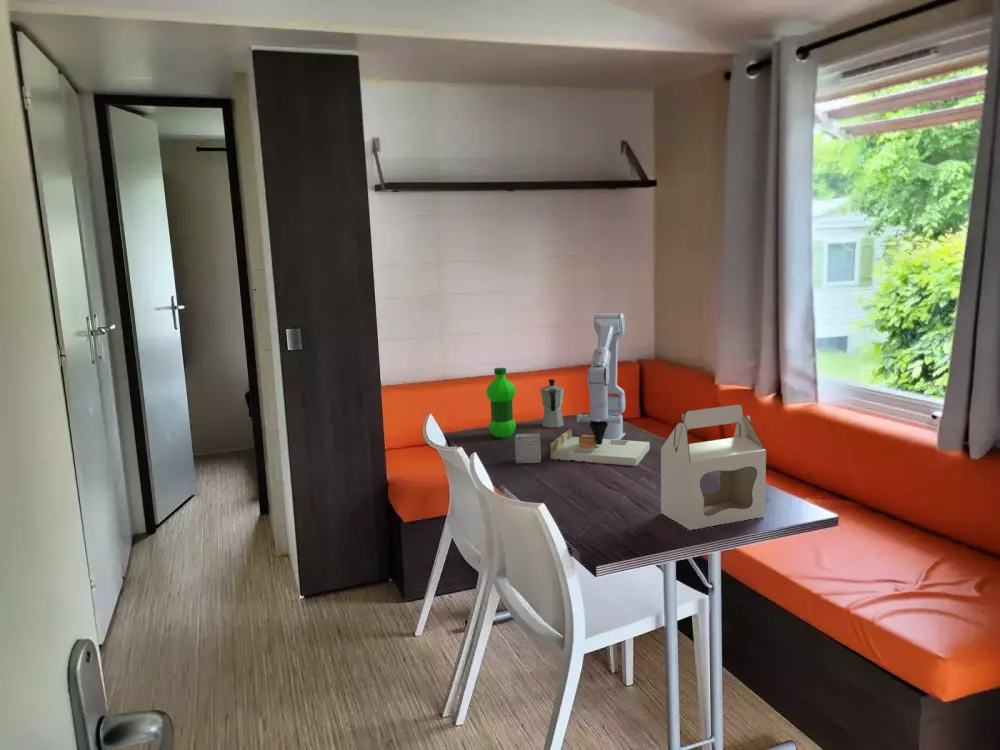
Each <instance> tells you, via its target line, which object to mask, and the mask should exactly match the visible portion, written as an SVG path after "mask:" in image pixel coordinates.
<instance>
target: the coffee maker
mask: <svg viewBox="0 0 1000 750" xmlns="http://www.w3.org/2000/svg"><path fill="white" fill-rule="evenodd" d="M555 382H556V380H555V379H554V378H551V379H548V383H549V384H548V385H547V386H543V387H541V388H540V394H541V395H540V396H541V401H542V406H543V407H544V409H543V417H542V425H543V426H542V428H543V427H549V428H550V427H561V426H564V427H565V424H564V418H563V412H562V405H563V401H564V392H565V391H564V390H565V388H564V387H561V386H559V385H555ZM561 428H562V427H561Z"/></svg>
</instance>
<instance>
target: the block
mask: <svg viewBox="0 0 1000 750" xmlns="http://www.w3.org/2000/svg"><path fill="white" fill-rule="evenodd" d="M579 437H580V438H579V447H583V448H595V447H596V446H597V443H596V439H595V436H594V434H593V435H592V434H591V435H590V434H581V436H579Z"/></svg>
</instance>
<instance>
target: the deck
mask: <svg viewBox="0 0 1000 750" xmlns="http://www.w3.org/2000/svg"><path fill="white" fill-rule="evenodd" d="M572 431H573V430H572V429H567V430H566V431H565V432H564V433H562V434H561V435H560V436H559V437H557V438H556V439H554V440H552V442H551V443H550V447H549V448H550V459H551V460H558V459H560V460H561V461H570V460H575V461H574V462H582V461H585V463H594V462H595V463H597V464H608V465H609V464H610V465H619V466H630V467H631V466H632V467H633V466H634V467H636V466H638V465H639V463H640V462H641V461H642V459H644V457H645V456H646V455H647V454H648V452H649V451H650V450H649V449H651V448H650V447H651V446H650V444H651V443H650V441H640V440H627V439H626V440H624V439H621V440H613V439H603V441H602V444H601V445H597V446H596V447H595V448H583V447H579V438H580V437H581V436H573V435H572V434H573V433H572ZM645 454H646V455H645ZM560 460H559V461H560Z"/></svg>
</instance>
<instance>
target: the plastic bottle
mask: <svg viewBox="0 0 1000 750" xmlns="http://www.w3.org/2000/svg"><path fill="white" fill-rule="evenodd" d="M493 371H494V373H493V374H494V375H495V379H494V380H492V382H490V384H489V385H487V388H486V396H487V399H488V400H489V401H490V418H491V420H490V421H489V425H488V428H489V432H490V433H491V435H493V436H494V437H495V438H497V437H508V436H510V437H511V436H512V435H513V434H514V432H515V431H516V428H517V424H516V421H515V419H514V412H513V410H514V409H513V408H514V407H513V406H514V405H513V399H515V396H516V387H515V385H514V384H513V382H511V381H510V380H508V379H507V378H506V375H507V368H506V367H496V368H494V370H493ZM508 438H509V437H508Z"/></svg>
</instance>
